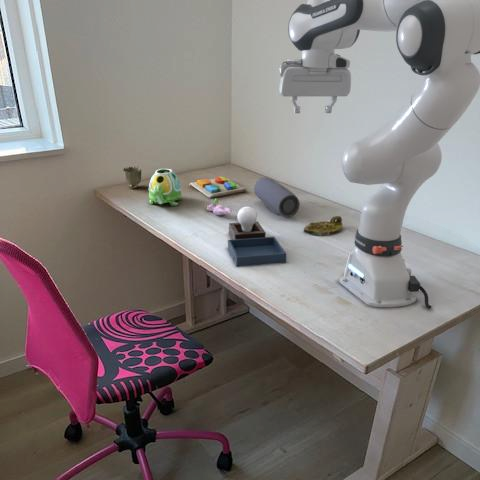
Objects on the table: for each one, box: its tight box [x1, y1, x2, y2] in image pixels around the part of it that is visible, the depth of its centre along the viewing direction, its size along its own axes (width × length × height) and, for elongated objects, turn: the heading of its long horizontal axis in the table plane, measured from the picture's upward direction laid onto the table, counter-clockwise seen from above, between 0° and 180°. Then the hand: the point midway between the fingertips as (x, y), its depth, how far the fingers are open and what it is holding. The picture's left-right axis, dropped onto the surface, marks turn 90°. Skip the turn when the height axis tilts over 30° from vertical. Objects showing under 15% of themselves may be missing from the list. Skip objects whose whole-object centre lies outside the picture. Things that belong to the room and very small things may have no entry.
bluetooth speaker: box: [253, 176, 301, 218], centre depth 188 cm, size 23×9×10 cm, turn 22°
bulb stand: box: [228, 220, 266, 240], centre depth 166 cm, size 10×10×4 cm
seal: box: [303, 215, 344, 236], centre depth 173 cm, size 9×5×15 cm
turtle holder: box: [148, 168, 182, 207], centre depth 191 cm, size 12×18×12 cm
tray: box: [227, 236, 287, 267], centre depth 155 cm, size 13×15×3 cm
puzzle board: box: [188, 176, 247, 199], centre depth 209 cm, size 18×19×4 cm
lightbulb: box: [236, 205, 258, 232], centre depth 164 cm, size 6×6×11 cm
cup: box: [122, 166, 142, 190], centre depth 208 cm, size 8×7×8 cm
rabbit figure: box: [205, 197, 232, 216], centre depth 184 cm, size 6×6×15 cm
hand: (312, 112), depth 147 cm, fingers open, 8 cm apart
